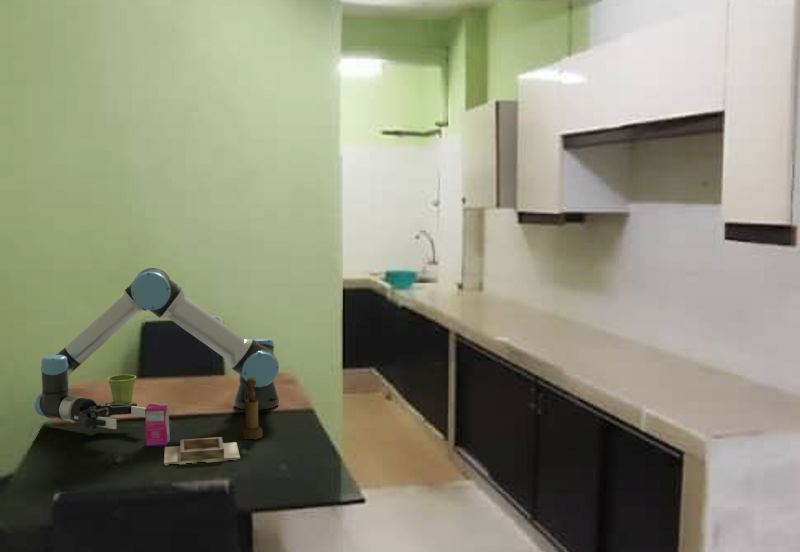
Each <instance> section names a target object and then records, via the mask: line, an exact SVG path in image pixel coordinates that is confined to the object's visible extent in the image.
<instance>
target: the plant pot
mask: <svg viewBox="0 0 800 552" xmlns="http://www.w3.org/2000/svg"><path fill="white" fill-rule="evenodd" d="M136 379H137V376H136V375H134V374H117V375H112V376H109V377H108V378H107V382H108V384H109V385H110V389H111V396H112V403H113V404H130V403H131V402H132V401H133V392H134V387H135V386H134V383H135V381H136Z"/></svg>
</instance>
